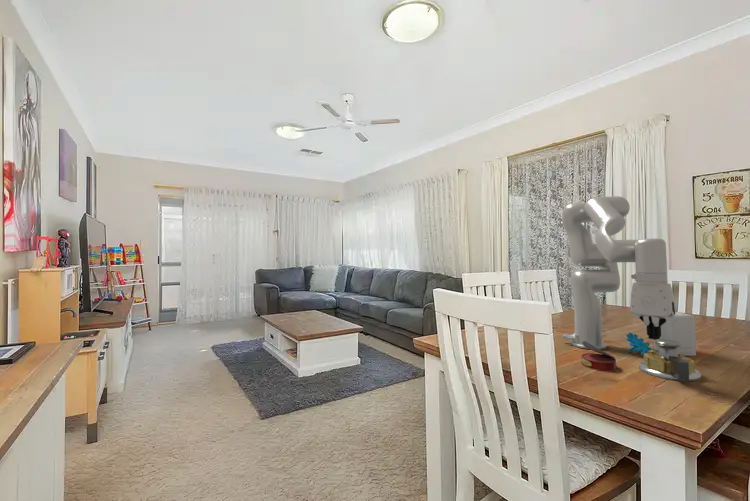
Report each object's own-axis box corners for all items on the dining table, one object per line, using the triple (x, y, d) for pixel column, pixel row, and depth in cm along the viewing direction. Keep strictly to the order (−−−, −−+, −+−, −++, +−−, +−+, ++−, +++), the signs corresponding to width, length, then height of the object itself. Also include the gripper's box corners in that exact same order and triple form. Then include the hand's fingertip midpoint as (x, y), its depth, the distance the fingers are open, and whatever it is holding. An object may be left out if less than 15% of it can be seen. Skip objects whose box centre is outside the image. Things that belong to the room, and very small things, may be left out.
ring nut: (640, 359, 116) (639, 345, 116) (684, 363, 111) (683, 348, 111) (658, 377, 100) (657, 360, 100) (710, 382, 95) (710, 364, 95)
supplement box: (697, 356, 124) (696, 315, 124) (672, 356, 124) (671, 315, 124) (675, 349, 133) (674, 311, 133) (652, 349, 133) (651, 311, 133)
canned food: (583, 374, 120) (579, 346, 125) (617, 376, 115) (612, 347, 120) (581, 368, 112) (577, 338, 116) (618, 369, 107) (612, 338, 111)
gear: (642, 354, 121) (623, 331, 128) (629, 363, 125) (611, 339, 132) (662, 355, 125) (642, 332, 132) (648, 363, 129) (630, 340, 136)
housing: (647, 377, 104) (646, 345, 104) (633, 362, 118) (632, 334, 118) (711, 384, 98) (710, 350, 98) (688, 367, 112) (687, 338, 112)
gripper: (617, 278, 108) (620, 335, 108) (676, 280, 95) (679, 345, 95) (630, 277, 112) (632, 333, 111) (688, 279, 99) (691, 342, 98)
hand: (654, 338), depth 103 cm, fingers closed
